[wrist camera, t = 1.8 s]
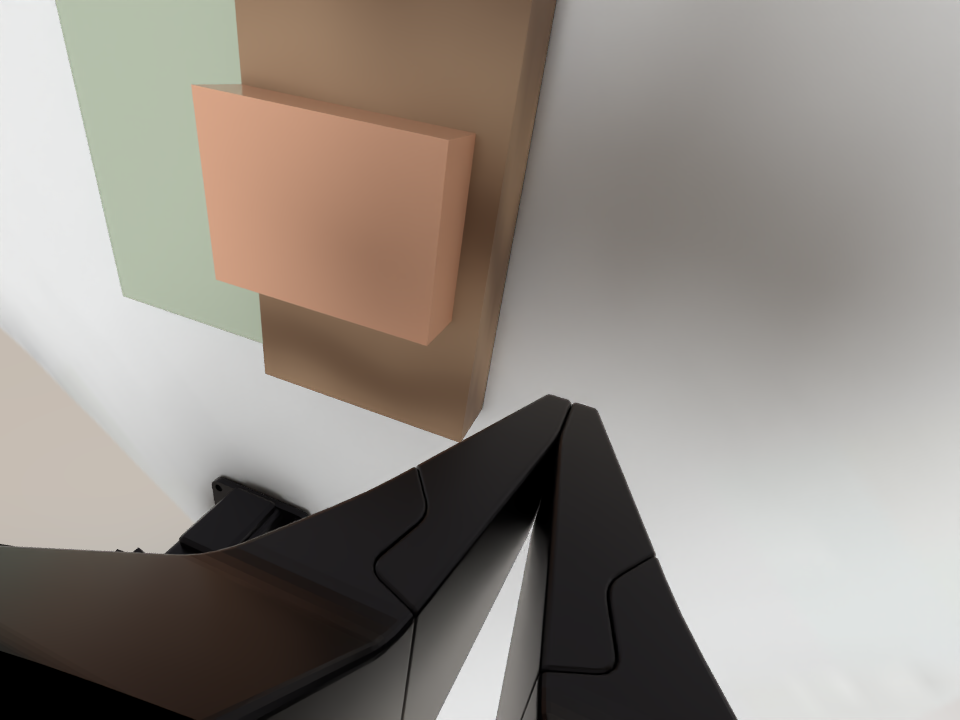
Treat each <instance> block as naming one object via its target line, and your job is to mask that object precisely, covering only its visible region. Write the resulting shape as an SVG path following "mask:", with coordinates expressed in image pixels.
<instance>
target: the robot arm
mask: <svg viewBox="0 0 960 720" xmlns="http://www.w3.org/2000/svg"><path fill="white" fill-rule="evenodd" d="M212 489H213V495H214V501H215V506H214V507H213V508H212V509H211V510H209V511H208V512H207V513H206V514H205V515H204V516H203V517H202V518H200V519H199V520H198V521H197V522H196V523H195V524H194V525H193V526H192V527H190V528H189V529H188V530H187V531H186V532H185V533H184V534H183V535H182V536H181V537H180V538H179V541H178V542H177V543H176V544H175V545H174V546H173V547H172V548H170V549H169V550H168V551H167V552H166V553H165V554H153V553H145V552H143V551H142V550H141V549H140V548H138V549H136V550H135V551H134V552H123V551H121V550H118V549H117V550H116V551H115V552H114V551H93V550H74V549H54V548H33V547H13V546H0V720H436V718H437V716H438V714H439V712H440V710H441V708H442V706H443V704H444V702H445V700H446V698H447V696H448V694H449V692H450V690H451V688H452V686H453V684H454V682H455V680H456V678H457V676H458V674H459V672H460V670H461V668H462V666H463V664H464V662H465V660H466V658H467V656H468V654H469V652H470V650H471V648H472V646H473V644H474V642H475V640H476V638H477V636H478V634H479V632H480V630H481V628H482V626H483V624H484V622H485V620H486V618H487V616H488V614H489V612H490V610H491V608H492V606H493V604H494V602H495V600H496V598H497V596H498V594H499V592H500V590H501V588H502V586H503V584H504V582H505V580H506V578H507V576H508V574H509V572H510V570H511V568H512V566H513V564H514V562H515V560H516V558H517V556H518V554H519V552H520V550H521V548H522V546H523V544H524V542H525V540H526V538H527V536H528V534H529V531H530V529H531V527H532V525H533V522H534V519H535V517H536V519H535V522H534V525H533V530H532V534H531V539H530V544H529V549H528V554H527V559H526V565H525V570H524V575H523V580H522V586H521V591H520V596H519V601H518V607H517V612H516V617H515V622H514V628H513V633H512V638H511V643H510V649H509V654H508V659H507V664H506V669H505V675H504V680H503V685H502V690H501V696H500V701H499V706H498V711H497V717H496V720H737V718H736V716H735V714H734V712H733V710H732V709H731V707H730V705H729V703H728V701H727V699H726V697H725V696H724V694H723V692H722V690H721V688H720V686H719V685H718V683H717V681H716V679H715V677H714V675H713V674H712V672H711V670H710V668H709V666H708V664H707V663H706V661H705V659H704V657H703V655H702V653H701V651H700V649H699V647H698V645H697V643H696V642H695V640H694V638H693V636H692V634H691V632H690V630H689V628H688V626H687V624H686V622H685V620H684V618H683V616H682V614H681V612H680V610H679V607H678V605H677V603H676V601H675V598H674V596H673V594H672V592H671V589H670V587H669V585H668V583H667V580H666V578H665V575H664V573H663V570H662V568H661V565H660V563H659V560H658V559H657V558H656V557H655V556H656V554H655V551H654V549H653V546H652V544H651V541H650V539H649V536H648V534H647V531H646V529H645V526H644V524H643V522H642V519H641V517H640V514H639V512H638V509H637V507H636V504H635V502H634V499H633V497H632V494H631V492H630V490H629V487H628V485H627V482H626V480H625V477H624V475H623V472H622V470H621V467H620V465H619V462H618V460H617V458H616V455H615V453H614V450H613V448H612V445H611V443H610V440H609V438H608V435H607V433H606V430H605V428H604V425H603V423H602V421H601V418H600V416H599V413H598V411H597V410H596V409H595V408H592V407H589V406H586V405H582V404H579V403H573V404H572V405H571V402H570V401H569V400H567V399H564V398H560V397H557V396H554V395H551V394H548V395H546V396H544V397H542V398H540V399H538V400H536V401H535V402H533V403H531V404H529V405H527V406H525V407H524V408H522V409H520V410H518V411H516V412H514V413H513V414H511V415H509V416H507V417H505V418H503V419H502V420H500V421H498V422H496V423H494V424H492V425H491V426H489V427H487V428H485V429H483V430H481V431H480V432H478V433H476V434H474V435H472V436H470V437H469V438H467V439H465V440H463V441H461V442H459V443H458V444H456V445H454V446H452V447H450V448H448V449H447V450H445V451H443V452H441V453H439V454H437V455H435V456H434V457H432V458H430V459H428V460H426V461H424V462H423V463H421V464H419V465H418V466H417V468H415V467H413V468H411V469H409V470H408V471H406V472H404V473H402V474H400V475H398V476H397V477H395V478H393V479H391V480H389V481H387V482H385V483H383V484H381V485H379V486H377V487H375V488H373V489H371V490H369V491H367V492H364V493H362V494H360V495H358V496H355V497H353V498H351V499H348V500H346V501H344V502H342V503H339V504H337V505H335V506H332V507H330V508H327V509H325V510H322V511H320V512H318V513H315V514H313V515H310V516H308V515H307V514H306V513H305V512H304V511H302V510H299V509H297V508H295V507H292V506H290V505H287V504H285V503H283V502H280V501H278V500H275V499H273V498H271V497H268V496H266V495H263V494H261V493H259V492H256V491H254V490H251V489H249V488H247V487H244V486H242V485H239V484H237V483H235V482H232V481H230V480H227V479H225V478H222V477H218V478H217V479H216V480H215V481H213V482H212ZM537 511H538V512H537ZM536 514H537V515H536Z"/></svg>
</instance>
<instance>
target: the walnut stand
mask: <svg viewBox="0 0 960 720" xmlns="http://www.w3.org/2000/svg"><path fill="white" fill-rule="evenodd" d="M555 6H556V0H235V11H236V23H237V35H238V47H239V59H240V71H241V84H243V85H248V86H253V87H257V88H262V89H267V90H272V91H276V92H281V93H286V94H291V95H295V96H300V97H305V98H310V99H314V100H319V101H324V102H329V103H333V104H338V105H343V106H348V107H352V108H357V109H362V110H367V111H372V112H376V113H381V114H386V115H391V116H395V117H400V118H405V119H410V120H414V121H419V122H424V123H429V124H433V125H438V126H443V127H448V128H452V129H457V130H462V131H467V132H471V133H476V138H475V146H474V153H473V161H472V169H471V176H470V184H469V192H468V199H467V207H466V215H465V222H464V230H463V238H462V245H461V253H460V261H459V268H458V276H457V284H456V291H455V299H454V307H453V314H452V321H451V322H450V323H449V324H448V325H447V326H446V327H445V328H444V329H443V330H442V331H441V332H440V333H439V334H438V335H437V336H436V337H435V338H434V339H433V340H432V341H431V342H430V343H429V344H428V345H427V346H425V345H422V344H419V343H415V342H412V341H409V340H406V339H403V338H400V337H396V336H393V335H390V334H387V333H384V332H381V331H377V330H374V329H371V328H368V327H365V326H361V325H358V324H355V323H352V322H349V321H346V320H342V319H339V318H336V317H333V316H330V315H327V314H323V313H320V312H317V311H314V310H311V309H308V308H304V307H301V306H298V305H295V304H292V303H289V302H285V301H282V300H279V299H276V298H273V297H269V296H266V295H263V294H260V293H259V302H260V314H261V327H262V339H263V351H264V363H265V374H268V375H271V376H274V377H276V378H279V379H282V380H285V381H288V382H291V383H293V384H296V385H299V386H302V387H305V388H307V389H310V390H313V391H316V392H319V393H322V394H324V395H327V396H330V397H333V398H336V399H338V400H341V401H344V402H347V403H350V404H353V405H355V406H358V407H361V408H364V409H367V410H369V411H372V412H375V413H378V414H381V415H383V416H386V417H389V418H392V419H395V420H398V421H400V422H403V423H406V424H409V425H412V426H414V427H417V428H420V429H423V430H426V431H429V432H431V433H434V434H437V435H440V436H443V437H445V438H448V439H451V440H454V441H457V442H461V441H462V440H463V438H464V436H465V435H466V433H467V432H468V430H469V429H470V427H471V425H472V424H473V422H474V421H475V419H476V418H477V416H478V414H479V413H480V411H481V410H482V406H483V401H484V395H485V390H486V384H487V379H488V373H489V368H490V362H491V357H492V351H493V346H494V340H495V335H496V329H497V324H498V319H499V313H500V308H501V302H502V297H503V291H504V286H505V280H506V275H507V269H508V264H509V258H510V253H511V247H512V242H513V236H514V231H515V225H516V220H517V214H518V209H519V203H520V198H521V192H522V187H523V181H524V176H525V170H526V165H527V159H528V154H529V148H530V143H531V137H532V132H533V126H534V121H535V115H536V110H537V105H538V99H539V94H540V88H541V83H542V77H543V72H544V66H545V61H546V55H547V50H548V44H549V39H550V33H551V28H552V22H553V17H554V11H555Z"/></svg>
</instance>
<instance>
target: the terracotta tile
mask: <svg viewBox="0 0 960 720" xmlns="http://www.w3.org/2000/svg"><path fill="white" fill-rule="evenodd" d="M191 88H192V96H193V104H194V112H195V119H196V127H197V135H198V143H199V151H200V159H201V167H202V175H203V182H204V190H205V198H206V206H207V214H208V222H209V230H210V238H211V245H212V253H213V261H214V269H215V277H216V280H219V281H222V282H225V283H228V284H231V285H235V286H238V287H241V288H244V289H247V290H250V291H254V292H257V293H260V294H263V295H266V296H269V297H273V298H276V299H279V300H282V301H285V302H289V303H292V304H295V305H298V306H301V307H304V308H308V309H311V310H314V311H317V312H320V313H323V314H327V315H330V316H333V317H336V318H339V319H342V320H346V321H349V322H352V323H355V324H358V325H361V326H365V327H368V328H371V329H374V330H377V331H381V332H384V333H387V334H390V335H393V336H396V337H400V338H403V339H406V340H409V341H412V342H415V343H419V344H422V345H425V346H427V345H428V344H429V343H430V342H431V341H432V340H433V339H434V338H435V337H436V336H437V335H438V334H439V333H440V332H441V331H442V330H443V329H444V328H445V327H446V326H447V325H448V324H449V323H450V322H451V321H452V314H453V307H454V299H455V291H456V284H457V276H458V268H459V261H460V253H461V245H462V238H463V230H464V222H465V215H466V207H467V199H468V192H469V184H470V176H471V169H472V161H473V153H474V146H475V138H476V133H471V132H467V131H462V130H457V129H452V128H448V127H443V126H438V125H433V124H429V123H424V122H419V121H414V120H410V119H405V118H400V117H395V116H391V115H386V114H381V113H376V112H372V111H367V110H362V109H357V108H352V107H348V106H343V105H338V104H333V103H329V102H324V101H319V100H314V99H310V98H305V97H300V96H295V95H291V94H286V93H281V92H276V91H272V90H267V89H262V88H257V87H253V86H248V85H243V84H191Z"/></svg>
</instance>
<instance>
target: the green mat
mask: <svg viewBox="0 0 960 720" xmlns="http://www.w3.org/2000/svg"><path fill="white" fill-rule="evenodd" d="M55 2H56V6H57V10H58V15H59V19H60V24H61V28H62V32H63V37H64V41H65V45H66V50H67V54H68V58H69V63H70V67H71V71H72V76H73V80H74V84H75V89H76V93H77V97H78V102H79V106H80V111H81V115H82V119H83V124H84V128H85V132H86V137H87V141H88V145H89V150H90V154H91V158H92V163H93V167H94V171H95V176H96V180H97V184H98V189H99V193H100V198H101V202H102V206H103V211H104V215H105V219H106V224H107V228H108V232H109V237H110V241H111V245H112V250H113V254H114V258H115V263H116V267H117V271H118V276H119V280H120V285H121V289H122V293H123V296H125V297H127V298H130V299H133V300H136V301H139V302H142V303H145V304H148V305H151V306H154V307H157V308H160V309H163V310H166V311H169V312H172V313H174V314H177V315H180V316H183V317H186V318H189V319H192V320H195V321H198V322H201V323H204V324H207V325H210V326H213V327H216V328H219V329H221V330H224V331H227V332H230V333H233V334H236V335H239V336H242V337H245V338H248V339H251V340H254V341H257V342H260V343H263V339H262V327H261V314H260V302H259V293H257V292H254V291H250V290H247V289H244V288H241V287H238V286H235V285H231V284H228V283H225V282H222V281H219V280H216V277H215V269H214V261H213V253H212V245H211V238H210V230H209V222H208V214H207V206H206V198H205V190H204V182H203V175H202V167H201V159H200V151H199V143H198V135H197V127H196V119H195V112H194V104H193V96H192V88H191V84H241V71H240V59H239V47H238V35H237V23H236V11H235V0H55Z"/></svg>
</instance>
